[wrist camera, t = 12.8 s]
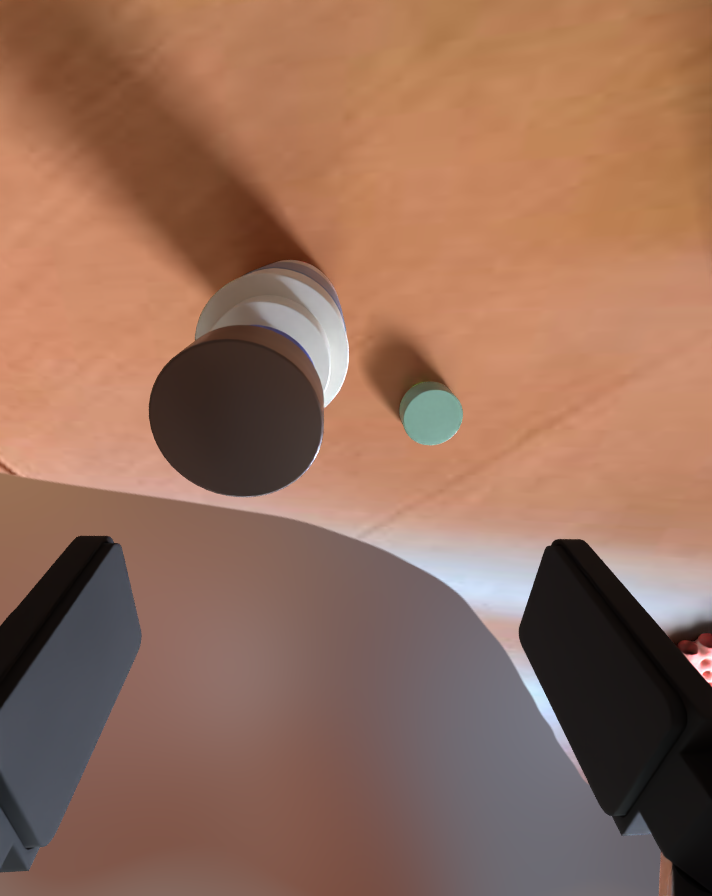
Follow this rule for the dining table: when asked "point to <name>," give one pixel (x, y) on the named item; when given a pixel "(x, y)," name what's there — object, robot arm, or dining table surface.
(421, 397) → the sage cylinder
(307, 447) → the brown disc
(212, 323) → the cream bottle
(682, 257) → the dining table surface
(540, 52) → the dining table surface
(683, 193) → the dining table surface
